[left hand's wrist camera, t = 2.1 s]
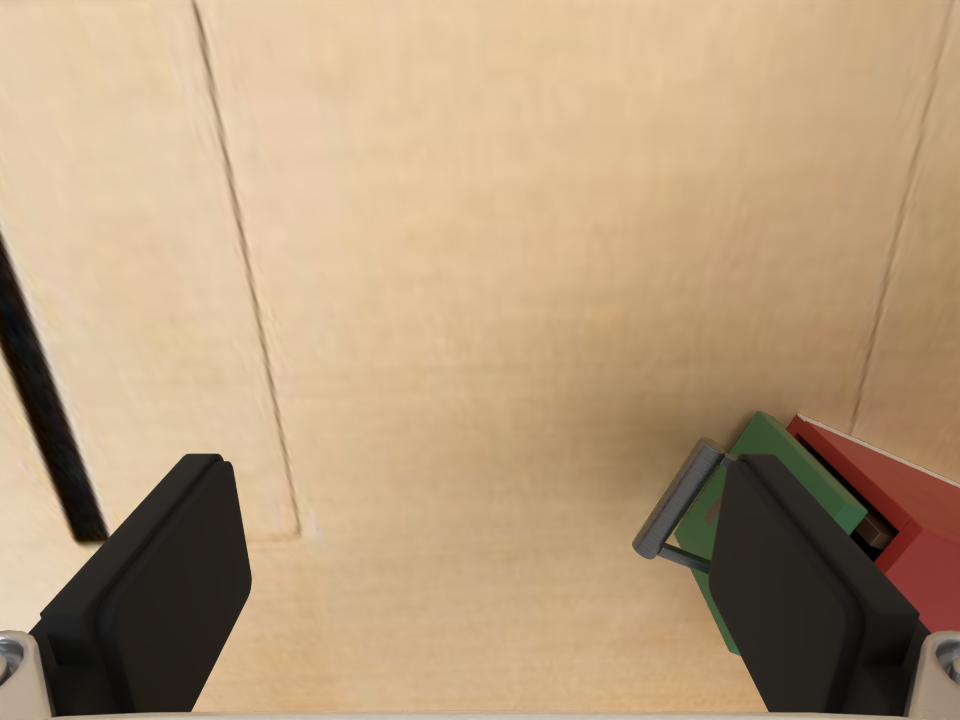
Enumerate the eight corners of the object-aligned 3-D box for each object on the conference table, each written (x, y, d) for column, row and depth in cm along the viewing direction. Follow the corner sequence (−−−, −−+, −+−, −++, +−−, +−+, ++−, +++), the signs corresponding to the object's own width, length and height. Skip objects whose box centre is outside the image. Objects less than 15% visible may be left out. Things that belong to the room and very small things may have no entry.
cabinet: (703, 546, 40) (781, 695, 30) (797, 412, 36) (925, 528, 26) (934, 636, 43) (1081, 802, 32) (1043, 520, 39) (1249, 665, 29)
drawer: (602, 505, 38) (638, 619, 29) (681, 377, 35) (748, 461, 26) (900, 622, 41) (1013, 755, 32) (998, 514, 38) (1153, 630, 29)
